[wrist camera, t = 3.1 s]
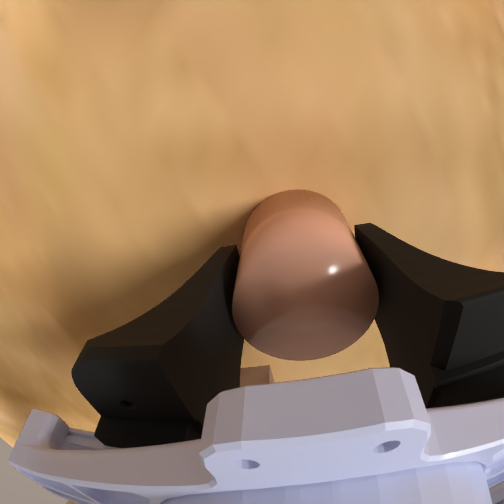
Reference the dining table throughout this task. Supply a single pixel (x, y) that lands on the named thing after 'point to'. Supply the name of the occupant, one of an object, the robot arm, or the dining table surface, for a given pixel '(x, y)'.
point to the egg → (302, 279)
